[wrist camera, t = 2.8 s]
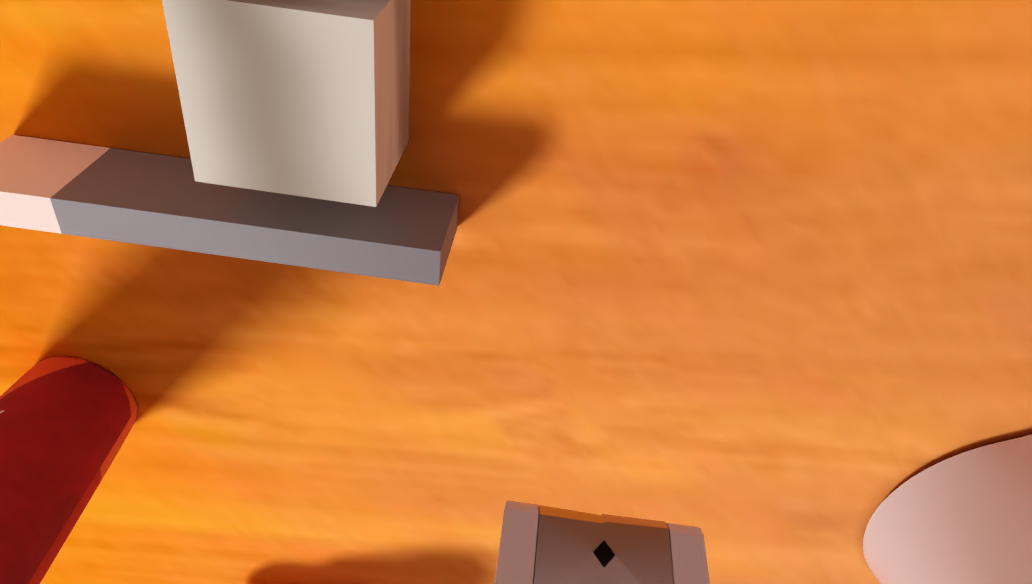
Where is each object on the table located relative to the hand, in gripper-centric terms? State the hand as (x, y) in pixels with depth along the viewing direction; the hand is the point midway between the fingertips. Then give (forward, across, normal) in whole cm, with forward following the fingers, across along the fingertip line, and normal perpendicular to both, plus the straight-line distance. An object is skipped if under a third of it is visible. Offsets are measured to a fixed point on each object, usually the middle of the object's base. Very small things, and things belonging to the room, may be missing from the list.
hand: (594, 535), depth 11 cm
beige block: (+18, +10, 0) cm, 21 cm away
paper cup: (+19, +24, +20) cm, 36 cm away
